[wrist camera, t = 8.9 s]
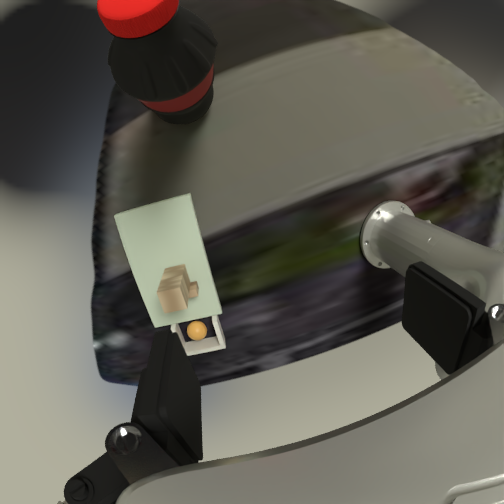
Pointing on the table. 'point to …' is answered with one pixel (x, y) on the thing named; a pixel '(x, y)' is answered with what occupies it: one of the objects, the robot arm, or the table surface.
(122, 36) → the cola bottle
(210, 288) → the board
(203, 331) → the ball
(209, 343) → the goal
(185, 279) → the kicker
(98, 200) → the table surface
